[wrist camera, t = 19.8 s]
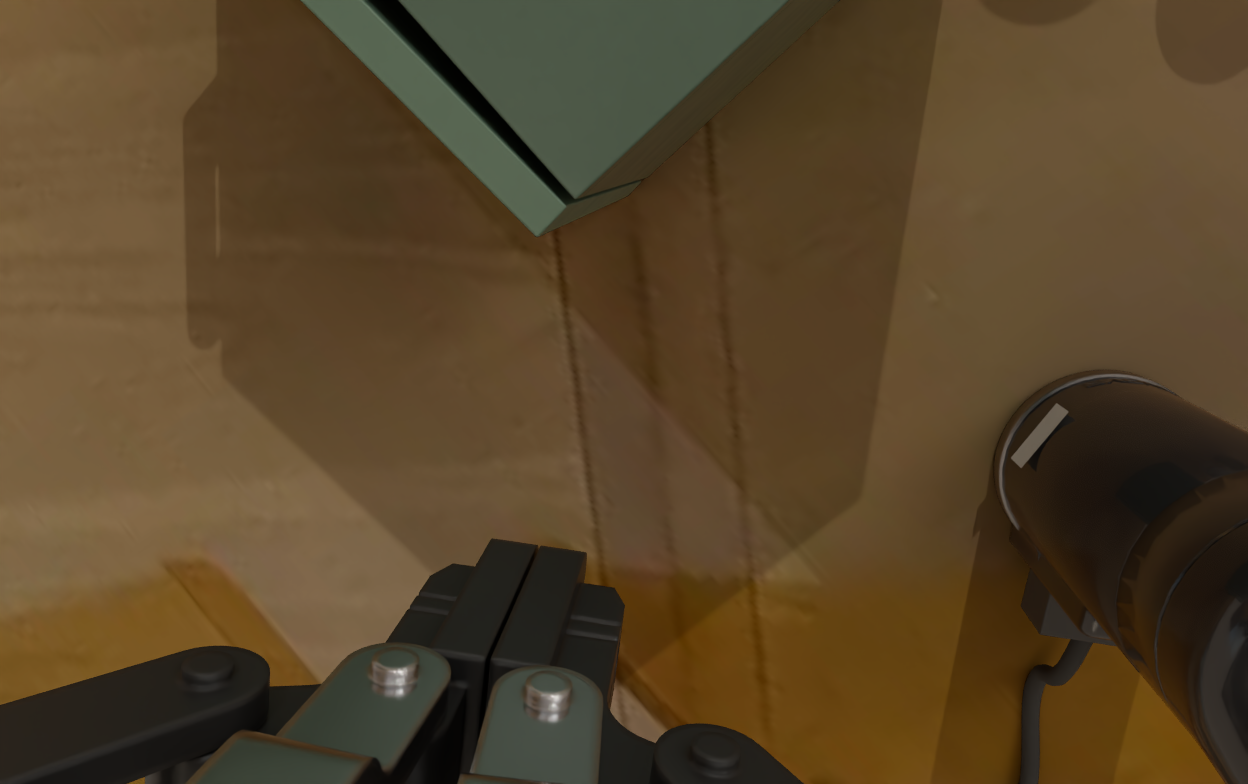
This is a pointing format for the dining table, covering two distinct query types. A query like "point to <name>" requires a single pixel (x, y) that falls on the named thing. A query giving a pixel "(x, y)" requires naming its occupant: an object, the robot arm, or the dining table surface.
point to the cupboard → (611, 71)
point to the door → (456, 111)
